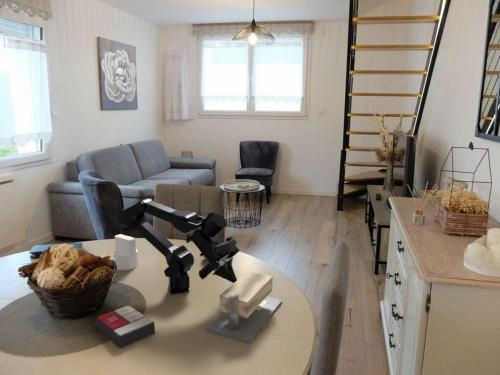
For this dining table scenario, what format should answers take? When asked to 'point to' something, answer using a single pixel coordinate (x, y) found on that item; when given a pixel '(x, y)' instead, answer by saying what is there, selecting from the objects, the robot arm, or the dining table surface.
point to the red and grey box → (125, 326)
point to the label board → (245, 321)
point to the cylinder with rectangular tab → (125, 252)
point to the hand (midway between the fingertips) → (236, 282)
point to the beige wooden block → (245, 296)
